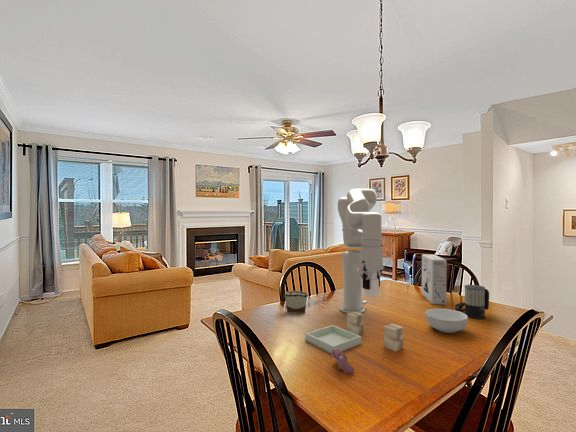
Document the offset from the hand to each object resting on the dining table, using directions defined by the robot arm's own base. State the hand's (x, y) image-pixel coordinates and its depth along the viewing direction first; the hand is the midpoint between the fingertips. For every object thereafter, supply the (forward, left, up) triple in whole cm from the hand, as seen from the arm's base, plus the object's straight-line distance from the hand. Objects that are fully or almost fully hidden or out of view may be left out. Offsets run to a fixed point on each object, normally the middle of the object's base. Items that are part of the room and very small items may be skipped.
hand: (371, 287), depth 130 cm
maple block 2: (-1, +10, -21) cm, 24 cm away
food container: (+1, -46, -22) cm, 51 cm away
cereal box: (-77, -14, -22) cm, 81 cm away
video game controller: (+26, +9, -22) cm, 35 cm away
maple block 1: (-1, -9, -21) cm, 23 cm away
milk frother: (-66, +10, -22) cm, 70 cm away
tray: (+14, -7, -21) cm, 27 cm away
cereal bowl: (-35, +14, -22) cm, 43 cm away
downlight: (0, 0, -3) cm, 3 cm away
